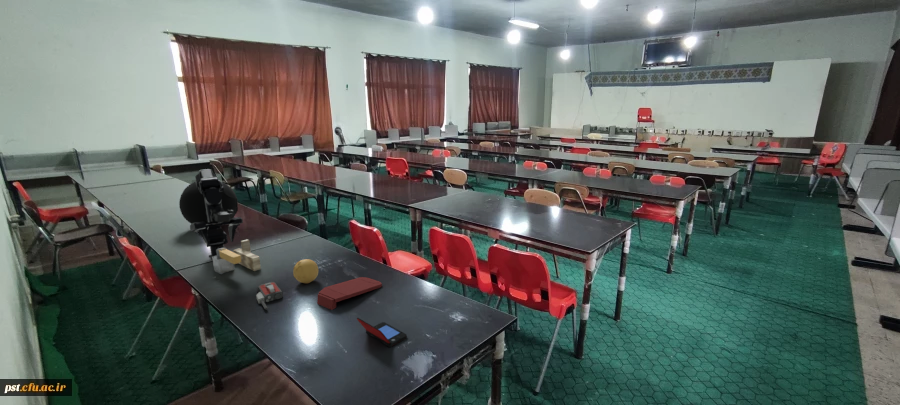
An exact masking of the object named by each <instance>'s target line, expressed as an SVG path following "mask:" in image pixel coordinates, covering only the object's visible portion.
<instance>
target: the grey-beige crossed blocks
mask: <svg viewBox="0 0 900 405" xmlns="http://www.w3.org/2000/svg"><path fill="white" fill-rule="evenodd" d="M240 245H241V246H240V247H241V248H240V247H239V248H236V249H233V252H234V253H236V254H238V255H241V262H240V263H238V264H239V265H240V266H243V267H245V268H247V269H249V270H251V271H252V272H253V271H254V272H256V271H259V270H262V266H261V259H260V256H259V255H257V254H254V253H252V250H251V244H250V239H247V238H246V239H244V240H240Z"/></svg>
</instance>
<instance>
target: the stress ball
mask: <svg viewBox="0 0 900 405" xmlns="http://www.w3.org/2000/svg"><path fill="white" fill-rule="evenodd" d="M318 266H319V265H318V264H317V262H315V261H314V260H312V259H310V258H307V259H305V258H304V259H301V260H299V261H297V262H296V263H295V265H294V266H293V269H292V270H293V274H292V275H293V278H294V279H296V281H297V282H298V283H303V284H310V283H311V282H313V281H314V280H315V279H316V278H317V277H318V275H319V267H318Z"/></svg>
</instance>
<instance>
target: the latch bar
mask: <svg viewBox="0 0 900 405" xmlns="http://www.w3.org/2000/svg"><path fill="white" fill-rule="evenodd" d="M216 253H217V257H220V258H223V259H225V260H227V261H229V262H231V263H233V264H234V265H236V264H239V263H240V262H241V255H238V254H236V253H234V251H231V249H230V250H229V249H227V247H224V248H219V249H217V250H216Z"/></svg>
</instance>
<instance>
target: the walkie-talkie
mask: <svg viewBox="0 0 900 405" xmlns="http://www.w3.org/2000/svg"><path fill="white" fill-rule="evenodd" d="M256 291H257V293H256V295H255V296H256V300H257V303H258V305H259V304H260V305H262V306H263V308H264V310H265V311H266V310H267V311H268V309H269V307H268V306H267V304H266V303H269V302H272V301H275V300H276V301H277V300H279V299H280V300H281V299H282V298H283V297H284V296H283V291H282V290H281V288H280V287H279V286H278V285H277V283H276V281H275V282H274V281H269V282H266V283H261V284H259V285H258V287H257V288H256Z"/></svg>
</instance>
